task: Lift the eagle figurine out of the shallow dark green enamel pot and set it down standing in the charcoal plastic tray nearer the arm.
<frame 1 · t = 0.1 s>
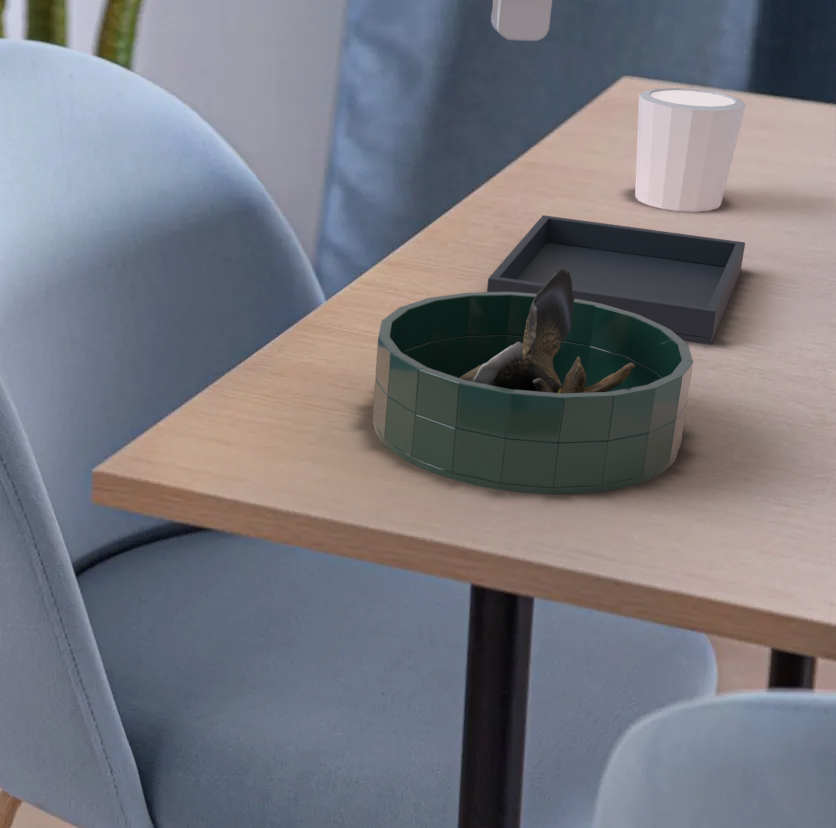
hand: (491, 14, 66), 19 cm above the table, tool pointing down, fingers open, 8 cm apart
tray: (618, 293, 99), on the table
white cup: (677, 205, 118), on the table
eagle figurine: (524, 428, 79), resting on pot
pot: (524, 435, 79), on the table
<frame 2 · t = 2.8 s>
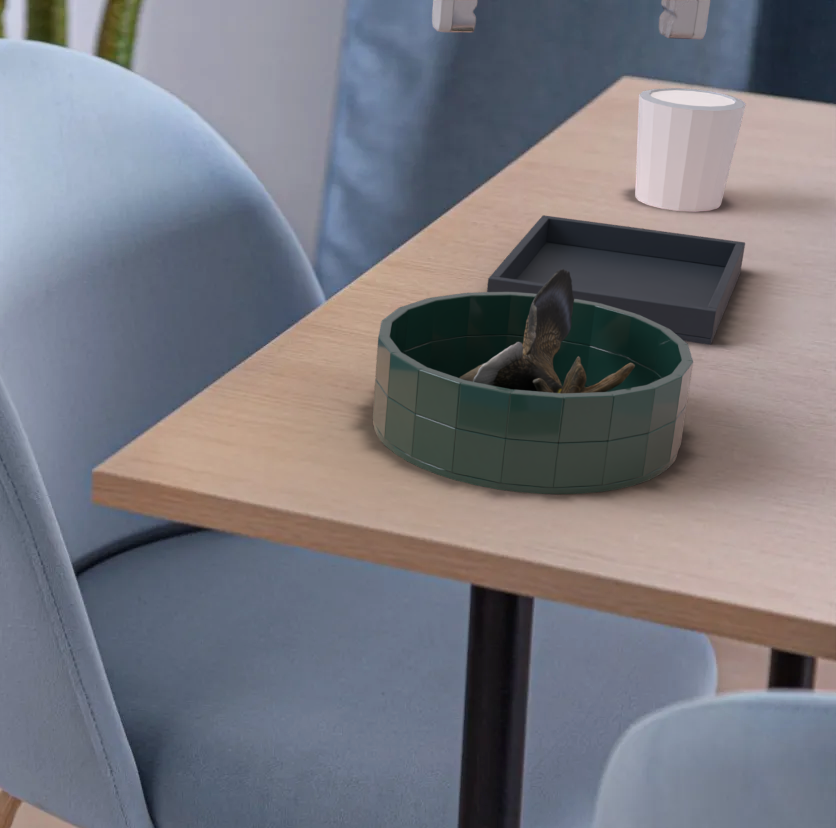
hand: (567, 33, 71), 18 cm above the table, tool pointing down, fingers open, 8 cm apart
nothing on the table moved.
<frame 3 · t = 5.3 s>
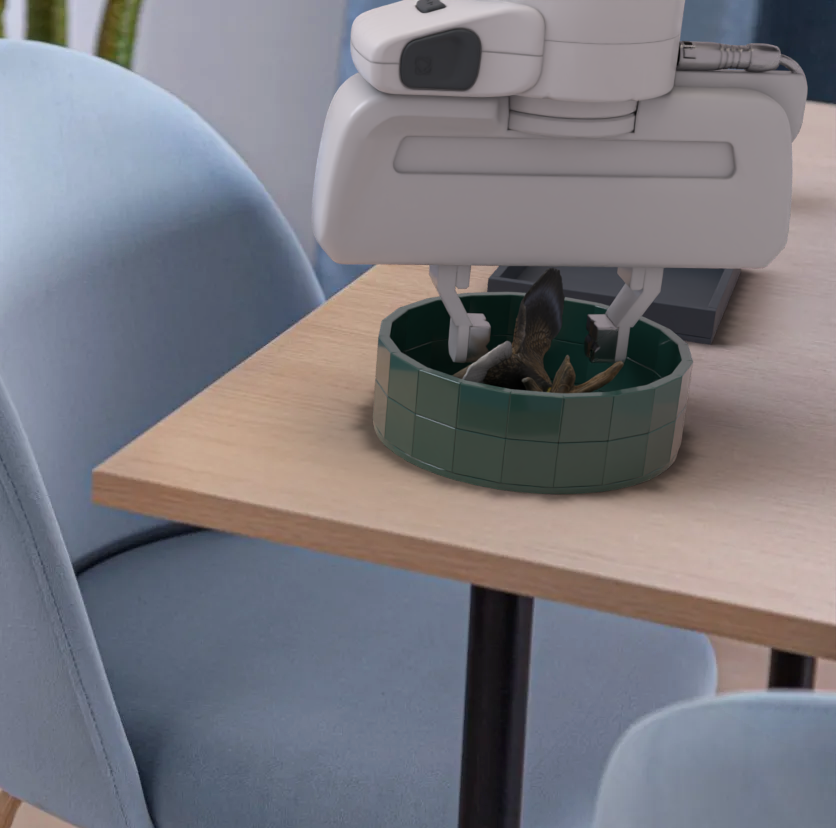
hand: (534, 359, 78), 4 cm above the table, tool pointing down, fingers closed on eagle figurine, 5 cm apart
eagle figurine: (515, 427, 79), resting on pot, touching gripper
everything else where it was.
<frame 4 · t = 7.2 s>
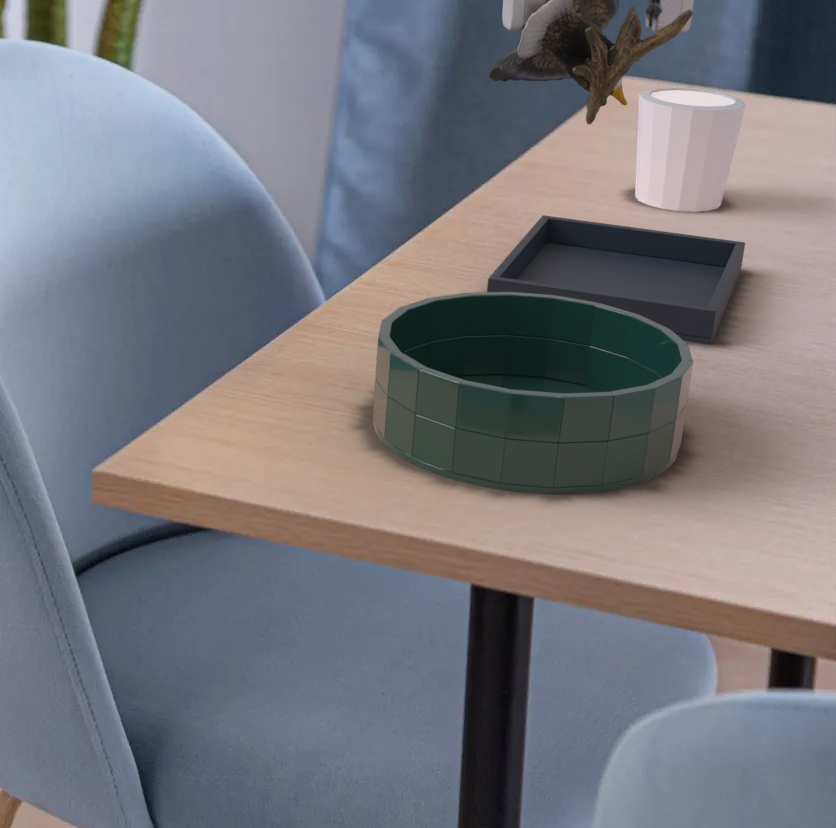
hand: (594, 29, 73), 18 cm above the table, tool pointing down, fingers closed on eagle figurine, 5 cm apart
eagle figurine: (573, 108, 75), point 14 cm above the table, touching gripper
everything else where it was.
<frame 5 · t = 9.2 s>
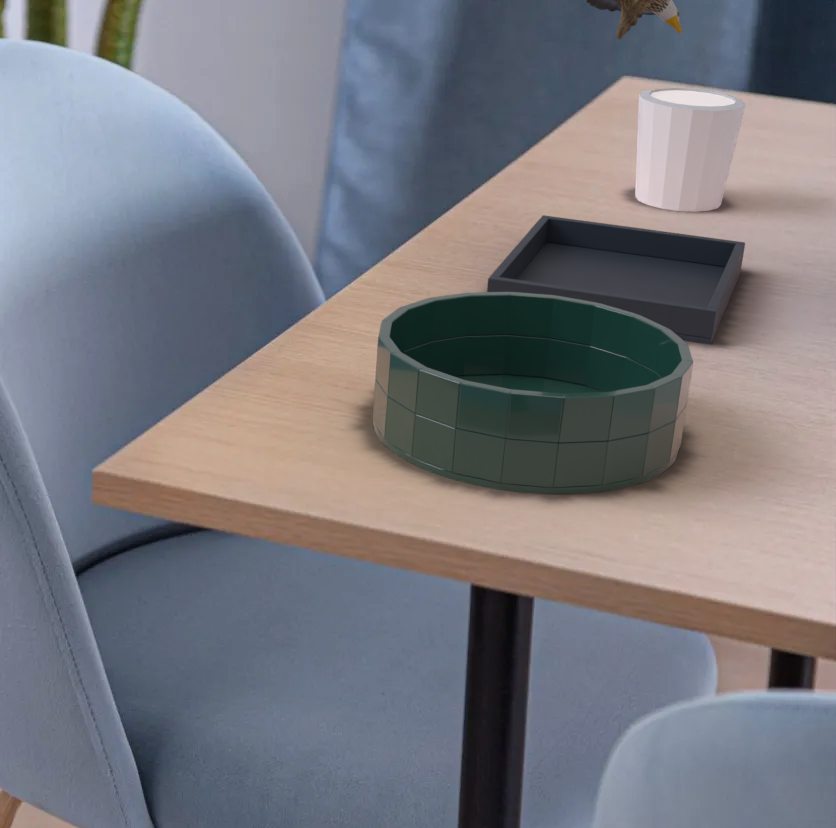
eagle figurine: (639, 32, 91), point 15 cm above the table, touching gripper
everything else where it was.
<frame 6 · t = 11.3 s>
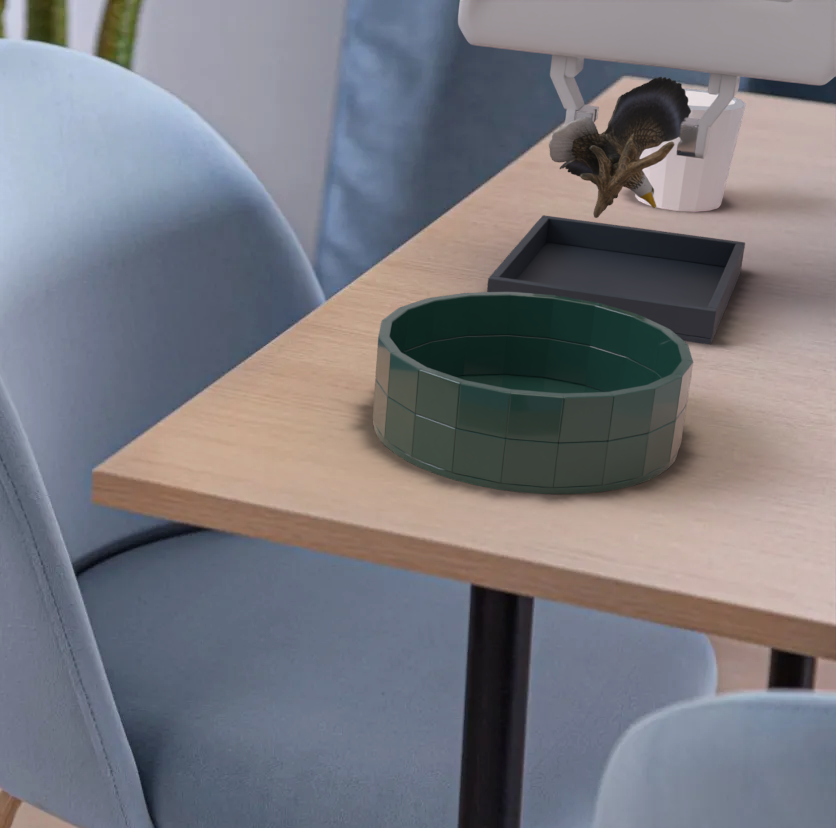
hand: (634, 147, 95), 8 cm above the table, tool pointing down, fingers closed on eagle figurine, 5 cm apart
eagle figurine: (616, 205, 97), point 5 cm above the table, touching gripper
everything else where it was.
when the fingers open (3 cm above the table, at t = 13.1 s): eagle figurine stays where it is, resting on tray.
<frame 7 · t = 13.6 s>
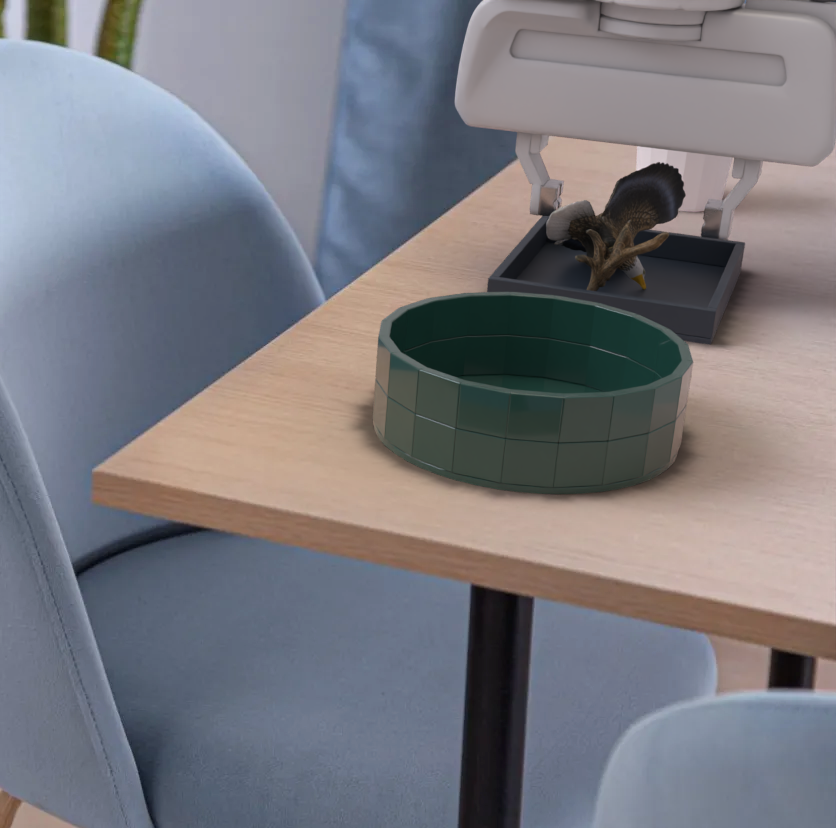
hand: (629, 225, 97), 4 cm above the table, tool pointing down, fingers open, 8 cm apart
eagle figurine: (607, 283, 99), resting on tray
everything else where it was.
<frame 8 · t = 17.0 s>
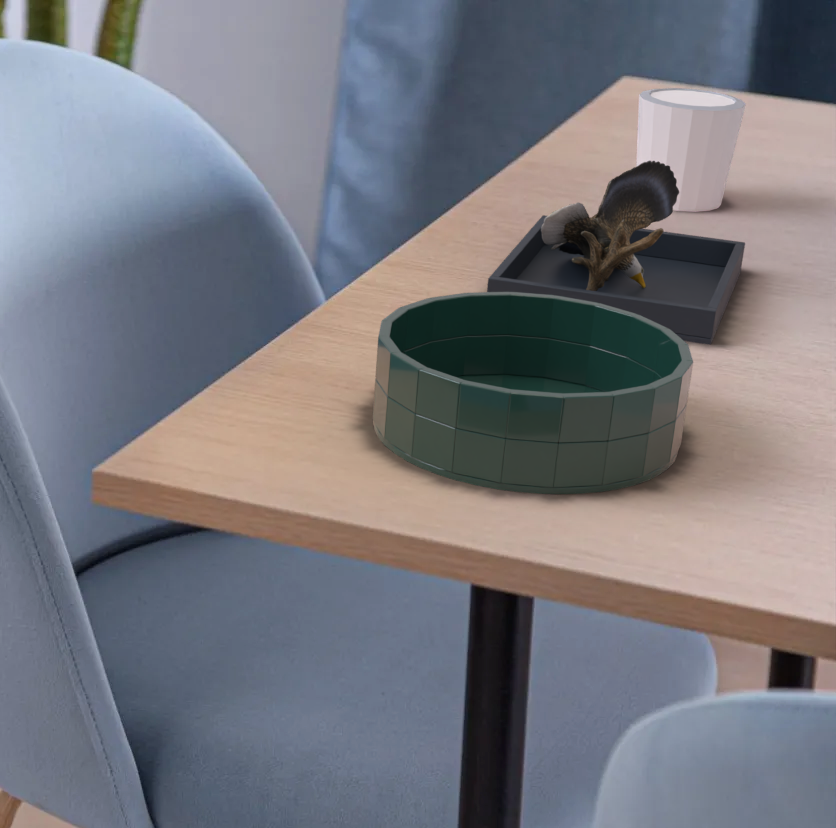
nothing on the table moved.
at the end: eagle figurine inside the target area in the tray (0.9 cm from its centre), point 0.3 cm above the tray's base; eagle figurine tilted 0°; the gripper is holding nothing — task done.
